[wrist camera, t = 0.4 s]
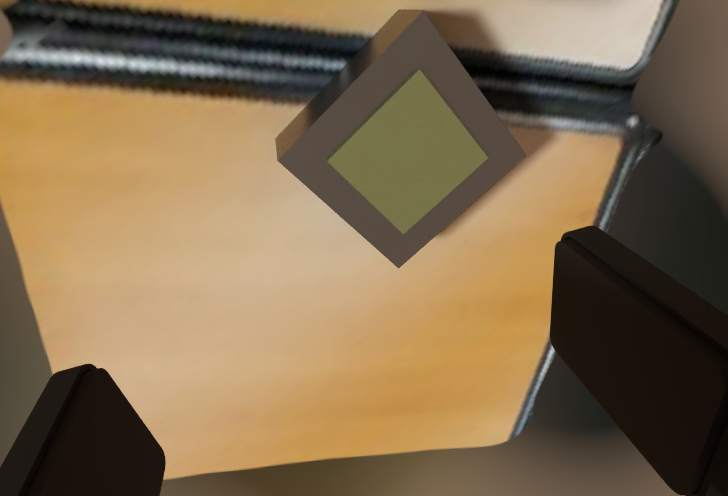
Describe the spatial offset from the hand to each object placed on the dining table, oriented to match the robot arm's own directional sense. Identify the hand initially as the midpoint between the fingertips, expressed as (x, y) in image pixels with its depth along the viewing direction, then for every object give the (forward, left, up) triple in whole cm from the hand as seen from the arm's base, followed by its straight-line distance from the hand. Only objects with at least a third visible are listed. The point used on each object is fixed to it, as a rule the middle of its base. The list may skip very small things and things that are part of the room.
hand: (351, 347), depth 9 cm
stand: (-4, +9, -30) cm, 32 cm away
